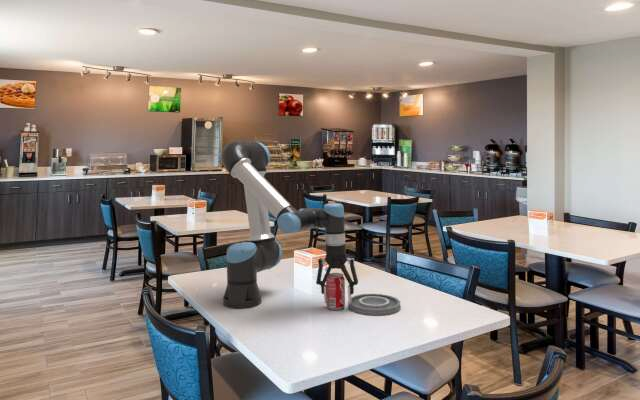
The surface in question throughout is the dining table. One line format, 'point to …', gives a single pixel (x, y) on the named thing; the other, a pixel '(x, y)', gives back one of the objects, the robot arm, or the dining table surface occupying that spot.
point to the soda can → (335, 291)
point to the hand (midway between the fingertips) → (337, 302)
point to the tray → (374, 304)
